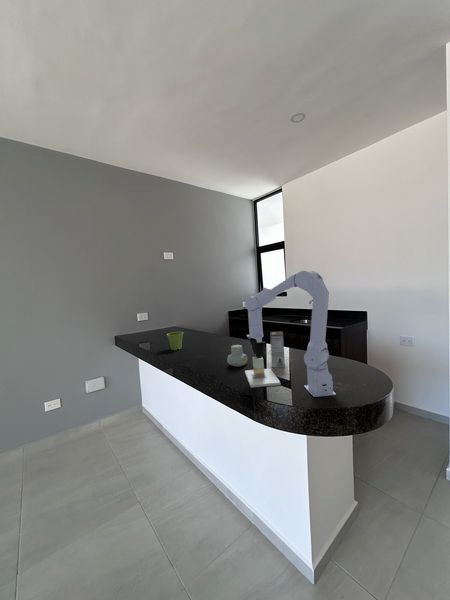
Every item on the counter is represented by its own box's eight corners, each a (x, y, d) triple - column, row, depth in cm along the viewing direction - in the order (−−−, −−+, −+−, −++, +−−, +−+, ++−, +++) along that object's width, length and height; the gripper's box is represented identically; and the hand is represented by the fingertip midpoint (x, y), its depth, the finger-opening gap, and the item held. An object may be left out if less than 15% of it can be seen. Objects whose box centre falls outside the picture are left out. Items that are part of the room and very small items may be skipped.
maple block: (264, 377, 107) (264, 367, 106) (255, 377, 106) (254, 368, 106) (262, 374, 111) (262, 365, 110) (253, 374, 110) (253, 365, 110)
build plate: (280, 384, 100) (280, 382, 100) (250, 387, 99) (250, 384, 99) (270, 370, 118) (270, 368, 118) (244, 372, 117) (244, 370, 117)
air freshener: (240, 369, 123) (239, 348, 123) (225, 367, 127) (224, 348, 127) (249, 362, 133) (248, 344, 132) (235, 361, 137) (234, 343, 136)
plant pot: (164, 349, 178) (163, 334, 177) (178, 346, 186) (177, 331, 185) (173, 352, 169) (172, 335, 168) (187, 348, 177) (186, 332, 176)
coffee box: (272, 362, 131) (270, 331, 131) (284, 361, 130) (282, 331, 129) (271, 367, 122) (269, 334, 122) (285, 367, 121) (283, 334, 120)
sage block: (263, 367, 106) (263, 358, 106) (254, 368, 106) (254, 359, 106) (262, 365, 110) (261, 356, 110) (253, 365, 110) (252, 356, 110)
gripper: (244, 323, 115) (246, 352, 115) (248, 327, 100) (251, 361, 101) (259, 321, 115) (261, 351, 115) (266, 326, 100) (268, 359, 101)
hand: (257, 355), depth 108 cm, fingers open, 7 cm apart
